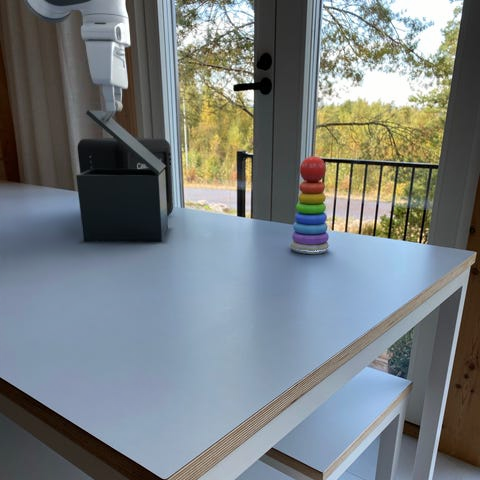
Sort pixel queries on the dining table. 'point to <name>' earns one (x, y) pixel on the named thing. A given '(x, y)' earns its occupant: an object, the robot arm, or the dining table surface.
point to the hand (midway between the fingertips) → (114, 111)
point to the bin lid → (126, 138)
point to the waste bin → (122, 205)
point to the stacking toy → (311, 209)
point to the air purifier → (125, 158)
